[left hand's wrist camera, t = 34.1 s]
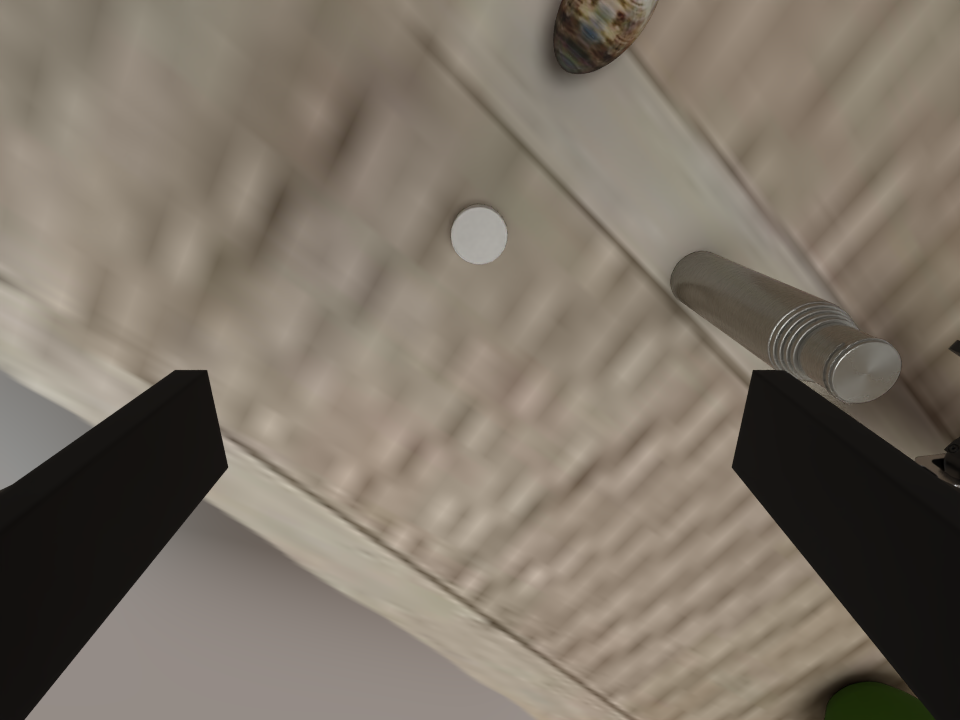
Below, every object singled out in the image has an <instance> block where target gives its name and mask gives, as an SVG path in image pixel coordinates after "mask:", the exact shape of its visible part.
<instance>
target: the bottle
mask: <svg viewBox="0 0 960 720" xmlns="http://www.w3.org/2000/svg"><path fill="white" fill-rule="evenodd" d="M671 288H672V291H673V293H674V295H675V296H676V298H677V299H678V300H680V301H681V302H683V303H684V304H685V305H687V306H688V307H689V308H691V309H692V310H694V311H695V312H696V313H698V314H699V315H700V316H702V317H703V318H705V319H706V320H707V321H709V322H710V323H712V324H713V325H714V326H716V327H717V328H718V329H720V330H721V331H723V332H724V333H725V334H727V335H728V336H729V337H731V338H732V339H734V340H735V341H736V342H738V343H739V344H741V345H742V346H743V347H745V348H746V349H747V350H749V351H750V352H752V353H753V354H754V355H756V356H757V357H758V358H760V359H761V360H763V361H764V362H765V363H767V364H768V365H770V366H771V367H772V368H774V369H775V370H785V371H787V372H788V373H790V374H791V375H792V376H794V377H795V378H797V379H798V380H802V381H809V382H817V383H818V384H820V385H821V386H823V387H824V388H826V390H827V391H828V392H829V393H830V394H831V395H833V396H834V397H836V398H837V399H839V400H841V401H842V402H845V403H849V404H851V403H865V402H869V401H872V400H874V399H876V398H878V397H880V396H882V395H883V394H885V393H886V392H887V391H888V390H889V389H890V388H891V387H892V386H893V385H894V384H895V382H896V381H897V379H898V377H899V374H900V371H901V358H900V355H899V353H898V351H897V350H896V349H895V348H894V347H893V346H892V344H890V343H889V342H887V341H886V340H883V339H880V338H876V337H875V338H874V337H872V336H870V335H868V334H866V333H864V332H861V331H860V330H859V328H858V327H857V326H856V324H855V323H854V321H853V320H852V319H851V317H850V316H849V315H848V314H847V313H846V312H845V311H844V310H843V309H841V308H840V307H839V306H837V305H835V304H833V303H830V302H828V301H826V300H823V299H821V298H818V297H816V296H814V295H811V294H809V293H806V292H804V291H802V290H799V289H797V288H794V287H792V286H790V285H787V284H785V283H783V282H780V281H778V280H775V279H773V278H771V277H768V276H766V275H763V274H761V273H759V272H756V271H754V270H751V269H749V268H747V267H744V266H742V265H740V264H737V263H735V262H732V261H730V260H728V259H725V258H723V257H720V256H718V255H716V254H713V253H711V252H706V251H700V252H695V253H692V254H690V255H688V256H686V257H684V258H683V259H682V260H681V261H680V262H679V263H678V264H677V266H676V267H675V269H674V271H673V273H672V277H671Z"/></svg>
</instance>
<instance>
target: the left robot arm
mask: <svg viewBox="0 0 960 720" xmlns="http://www.w3.org/2000/svg"><path fill="white" fill-rule="evenodd" d="M227 468H228V464H227V459H226V455H225V450H224V446H223V441H222V436H221V432H220V427H219V423H218V418H217V414H216V409H215V404H214V400H213V395H212V391H211V386H210V381H209V377H208V372H207V370H175V371H173V372H172V373H170V374H169V375H168V376H166V377H165V378H163V379H162V380H160V381H159V382H158V383H156V384H155V385H153V386H152V387H150V388H149V389H148V390H146V391H145V392H143V393H142V394H140V395H139V396H138V397H136V398H135V399H133V400H132V401H131V402H129V403H128V404H126V405H125V406H123V407H122V408H121V409H119V410H118V411H116V412H115V413H113V414H112V415H111V416H109V417H108V418H106V419H105V420H103V421H102V422H101V423H99V424H98V425H96V426H95V427H94V428H92V429H91V430H89V431H88V432H86V433H85V434H84V435H82V436H81V437H79V438H78V439H77V440H75V441H74V442H72V443H71V444H69V445H68V446H67V447H65V448H64V449H62V450H61V451H59V452H58V453H57V454H55V455H54V456H52V457H51V458H49V459H48V460H47V461H45V462H44V463H42V464H41V465H40V466H38V467H37V468H35V469H34V470H32V471H31V472H30V473H28V474H27V475H25V476H24V477H22V478H21V479H20V480H18V481H17V482H15V483H14V484H12V485H10V486H8V487H6V488H4V489H2V490H0V720H25V718H26V717H27V716H28V715H29V713H30V712H31V711H32V710H33V708H34V707H35V706H36V705H37V704H38V702H39V701H40V700H41V699H42V697H43V696H44V695H45V694H46V692H47V691H48V690H49V689H50V687H51V686H52V685H53V684H54V683H55V681H56V680H57V679H58V678H59V676H60V675H61V674H62V673H63V671H64V670H65V669H66V668H67V666H68V665H69V664H70V663H71V661H72V660H73V659H74V658H75V657H76V655H77V654H78V653H79V652H80V650H81V649H82V648H83V647H84V645H85V644H86V643H87V642H88V640H89V639H90V638H91V637H92V635H93V634H94V633H95V632H96V631H97V629H98V628H99V627H100V626H101V624H102V623H103V622H104V621H105V619H106V618H107V617H108V616H109V614H110V613H111V612H112V611H113V609H114V608H115V607H116V606H117V604H118V603H119V602H120V601H121V600H122V598H123V597H124V596H125V595H126V593H127V592H128V591H129V590H130V588H131V587H132V586H133V585H134V583H135V582H136V581H137V580H138V579H139V577H140V576H141V575H142V574H143V572H144V571H145V570H146V569H147V567H148V566H149V565H150V564H151V562H152V561H153V560H154V559H155V558H156V556H157V555H158V554H159V552H160V551H161V550H162V549H163V548H164V546H165V545H166V544H167V543H168V541H169V540H170V539H171V538H172V536H173V535H174V534H175V533H176V532H177V530H178V529H179V528H180V527H181V525H182V524H183V523H184V522H185V520H186V519H187V518H188V517H189V515H190V514H191V513H192V512H193V510H194V509H195V508H196V507H197V505H198V504H199V503H200V502H201V501H202V499H203V498H204V497H205V496H206V494H207V493H208V492H209V491H210V489H211V488H212V487H213V486H214V484H215V483H216V482H217V481H218V480H219V478H220V477H221V476H222V475H223V473H224V472H225V471H226V470H227ZM732 468H733V470H734V471H735V472H736V473H737V475H738V476H739V477H740V478H741V480H742V481H743V482H744V483H745V484H746V486H747V487H748V488H749V489H750V491H751V492H752V493H753V494H754V496H755V497H756V498H757V499H758V501H759V502H760V503H761V504H762V506H763V507H764V508H765V509H766V510H767V512H768V513H769V514H770V515H771V517H772V518H773V519H774V520H775V522H776V523H777V524H778V525H779V527H780V528H781V529H782V530H783V532H784V533H785V534H786V535H787V536H788V538H789V539H790V540H791V541H792V543H793V544H794V545H795V546H796V548H797V549H798V550H799V551H800V553H801V554H802V555H803V556H804V558H805V559H806V560H807V561H808V562H809V564H810V565H811V566H812V567H813V569H814V570H815V571H816V572H817V574H818V575H819V576H820V577H821V579H822V580H823V581H824V582H825V583H826V585H827V586H828V587H829V588H830V590H831V591H832V592H833V593H834V595H835V596H836V597H837V598H838V600H839V601H840V602H841V603H842V605H843V606H844V607H845V608H846V609H847V611H848V612H849V613H850V614H851V616H852V617H853V618H854V619H855V621H856V622H857V623H858V624H859V626H860V627H861V628H862V629H863V631H864V632H865V633H866V634H867V635H868V637H869V638H870V639H871V640H872V642H873V643H874V644H875V645H876V647H877V648H878V649H879V650H880V652H881V653H882V654H883V655H884V657H885V658H886V659H887V660H888V661H889V663H890V664H891V665H892V666H893V668H894V669H895V670H896V671H897V673H898V674H899V675H900V676H901V678H902V679H903V680H904V681H905V683H906V684H907V685H908V686H909V687H910V689H911V690H912V691H913V692H914V694H915V695H916V696H917V697H918V699H919V700H920V701H921V702H922V704H923V705H924V706H925V707H926V709H927V710H928V711H929V712H930V713H931V715H932V716H933V717H934V718H935V720H960V488H959V487H957V486H954V485H952V484H950V483H948V482H946V481H944V480H942V479H940V478H938V477H936V476H935V475H933V474H932V473H930V472H929V471H928V470H926V469H925V468H923V467H922V466H921V465H919V464H918V463H916V462H915V461H913V460H912V459H911V458H909V457H908V456H906V455H905V454H903V453H902V452H901V451H899V450H898V449H896V448H895V447H894V446H892V445H891V444H889V443H888V442H886V441H885V440H884V439H882V438H881V437H879V436H878V435H876V434H875V433H874V432H872V431H871V430H869V429H868V428H866V427H865V426H864V425H862V424H861V423H859V422H858V421H857V420H855V419H854V418H852V417H851V416H849V415H848V414H847V413H845V412H844V411H842V410H841V409H839V408H838V407H837V406H835V405H834V404H832V403H831V402H829V401H828V400H827V399H825V398H824V397H822V396H821V395H820V394H818V393H817V392H815V391H814V390H812V389H811V388H810V387H808V386H807V385H805V384H804V383H802V382H801V381H800V380H798V379H797V378H795V377H794V376H792V375H791V374H790V373H788V372H787V371H785V370H753V372H752V377H751V381H750V386H749V391H748V395H747V400H746V404H745V409H744V414H743V418H742V423H741V427H740V432H739V436H738V441H737V446H736V450H735V455H734V459H733V464H732Z"/></svg>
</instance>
